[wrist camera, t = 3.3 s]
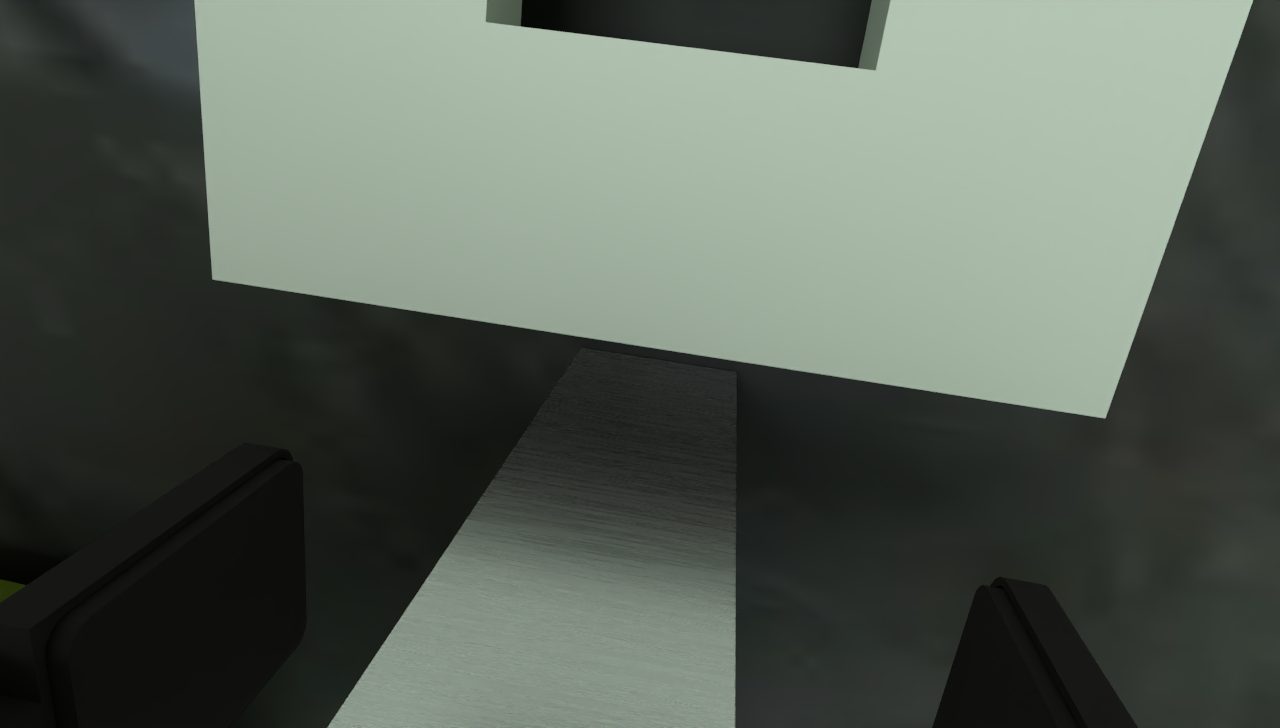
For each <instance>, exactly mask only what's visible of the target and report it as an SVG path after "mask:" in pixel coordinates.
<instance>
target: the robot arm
mask: <svg viewBox="0 0 1280 728" xmlns="http://www.w3.org/2000/svg"><path fill="white" fill-rule="evenodd" d="M305 626H306V581H305V544H304V507H303V473H302V468H301V466H300V464H299V463H297V462H293V458H292V456H291V454H290V452H288V451H287V450H284V449H279V448H273V447H268V446H262V445H256V444H250V443H245V444H242V445H240V446H238V447H237V448H235V449H234V450H232V451H231V452H229V453H228V454H226V455H225V456H223V457H222V458H220V459H218V460H217V461H215V462H214V463H212V464H211V465H209V466H208V467H206V468H205V469H203V470H202V471H200V472H199V473H197V474H196V475H194V476H193V477H191V478H189V479H188V480H186V481H185V482H183V483H182V484H180V485H179V486H177V487H176V488H174V489H173V490H171V491H170V492H168V493H167V494H165V495H164V496H162V497H160V498H159V499H157V500H156V501H154V502H153V503H151V504H150V505H148V506H147V507H145V508H144V509H142V510H141V511H139V512H138V513H136V514H135V515H133V516H131V517H130V518H128V519H127V520H125V521H124V522H122V523H121V524H119V525H118V526H116V527H115V528H113V529H112V530H110V531H109V532H107V533H106V534H104V535H102V536H101V537H99V538H98V539H96V540H95V541H93V542H92V543H90V544H89V545H87V546H86V547H84V548H83V549H81V550H80V551H78V552H77V553H75V554H73V555H72V556H70V557H69V558H67V559H66V560H64V561H63V562H61V563H60V564H58V565H57V566H55V567H54V568H52V569H51V570H49V571H48V572H46V573H44V574H43V575H41V576H40V577H38V578H37V579H35V580H34V581H32V582H31V583H29V584H28V585H26V586H25V587H23V588H22V589H20V590H19V591H17V592H15V593H14V594H12V595H11V596H9V597H8V598H6V599H5V600H3V601H2V602H0V728H229V727H230V726H231V724H232V723H233V722H234V721H235V720H236V718H237V717H238V716H239V715H240V714H241V712H242V711H243V710H244V709H245V708H246V707H247V705H248V704H249V703H250V702H251V701H252V699H253V698H254V697H255V696H256V695H257V694H258V692H259V691H260V690H261V689H262V688H263V686H264V685H265V684H266V683H267V682H268V680H269V679H270V678H271V677H272V676H273V675H274V673H275V672H276V671H277V670H278V669H279V667H280V666H281V665H282V664H283V663H284V662H285V660H286V659H287V658H288V657H289V656H290V654H291V653H292V652H293V651H294V650H295V648H296V647H297V646H298V644H299V643H300V641H301V639H302V636H303V634H304V631H305ZM932 728H1138V727H1137V725H1136V724H1135V722H1134V721H1133V719H1132V718H1131V716H1130V714H1129V713H1128V711H1127V710H1126V708H1125V707H1124V705H1123V703H1122V702H1121V700H1120V699H1119V697H1118V696H1117V694H1116V692H1115V691H1114V689H1113V688H1112V686H1111V685H1110V683H1109V681H1108V680H1107V678H1106V677H1105V675H1104V674H1103V672H1102V670H1101V669H1100V667H1099V666H1098V664H1097V663H1096V661H1095V659H1094V658H1093V656H1092V655H1091V653H1090V652H1089V650H1088V648H1087V647H1086V645H1085V644H1084V642H1083V641H1082V639H1081V637H1080V636H1079V634H1078V633H1077V631H1076V630H1075V628H1074V626H1073V625H1072V623H1071V622H1070V620H1069V619H1068V617H1067V615H1066V614H1065V612H1064V611H1063V609H1062V608H1061V606H1060V604H1059V603H1058V601H1057V600H1056V598H1055V597H1054V595H1053V594H1052V592H1051V590H1050V589H1049V588H1048V587H1047V586H1045V585H1042V584H1036V583H1031V582H1025V581H1019V580H1014V579H1008V578H1003V577H998V578H996V579H995V580H994V581H993V583H992V584H991V586H984V585H982V586H980V587H979V588H978V589H977V591H976V593H975V596H974V599H973V602H972V605H971V608H970V611H969V615H968V618H967V621H966V624H965V627H964V630H963V633H962V636H961V640H960V643H959V646H958V649H957V652H956V655H955V658H954V662H953V665H952V668H951V671H950V674H949V677H948V680H947V684H946V687H945V690H944V693H943V696H942V699H941V702H940V705H939V709H938V712H937V715H936V718H935V721H934V724H933V727H932Z"/></svg>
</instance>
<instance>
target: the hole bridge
mask: <svg viewBox="0 0 1280 728" xmlns="http://www.w3.org/2000/svg"><path fill="white" fill-rule="evenodd" d="M194 1H195V17H196V32H197V48H198V64H199V79H200V95H201V110H202V126H203V141H204V157H205V172H206V188H207V204H208V219H209V235H210V250H211V266H212V279H213V280H219V281H226V282H232V283H239V284H245V285H251V286H258V287H264V288H271V289H277V290H284V291H290V292H296V293H303V294H309V295H316V296H322V297H329V298H335V299H341V300H348V301H354V302H361V303H367V304H373V305H380V306H386V307H393V308H399V309H406V310H412V311H418V312H425V313H431V314H438V315H444V316H451V317H457V318H463V319H470V320H476V321H483V322H489V323H496V324H502V325H508V326H515V327H521V328H528V329H534V330H540V331H547V332H553V333H560V334H566V335H573V336H579V337H585V338H592V339H598V340H605V341H611V342H618V343H624V344H630V345H637V346H643V347H650V348H656V349H663V350H669V351H675V352H682V353H688V354H695V355H701V356H707V357H714V358H720V359H727V360H733V361H740V362H746V363H752V364H759V365H765V366H772V367H778V368H785V369H791V370H797V371H804V372H810V373H817V374H823V375H830V376H836V377H842V378H849V379H855V380H862V381H868V382H874V383H881V384H887V385H894V386H900V387H907V388H913V389H919V390H926V391H932V392H939V393H945V394H952V395H958V396H964V397H971V398H977V399H984V400H990V401H997V402H1003V403H1009V404H1016V405H1022V406H1029V407H1035V408H1041V409H1048V410H1054V411H1061V412H1067V413H1074V414H1080V415H1086V416H1093V417H1099V418H1106V415H1107V412H1108V409H1109V407H1110V404H1111V401H1112V398H1113V395H1114V393H1115V390H1116V387H1117V384H1118V381H1119V378H1120V376H1121V373H1122V370H1123V367H1124V364H1125V361H1126V359H1127V356H1128V353H1129V350H1130V347H1131V344H1132V342H1133V339H1134V336H1135V333H1136V330H1137V327H1138V325H1139V322H1140V319H1141V316H1142V313H1143V310H1144V308H1145V305H1146V302H1147V299H1148V296H1149V294H1150V291H1151V288H1152V285H1153V282H1154V279H1155V277H1156V274H1157V271H1158V268H1159V265H1160V262H1161V260H1162V257H1163V254H1164V251H1165V248H1166V245H1167V243H1168V240H1169V237H1170V234H1171V231H1172V228H1173V226H1174V223H1175V220H1176V217H1177V214H1178V211H1179V209H1180V206H1181V203H1182V200H1183V197H1184V195H1185V192H1186V189H1187V186H1188V183H1189V180H1190V178H1191V175H1192V172H1193V169H1194V166H1195V163H1196V161H1197V158H1198V155H1199V152H1200V149H1201V146H1202V144H1203V141H1204V138H1205V135H1206V132H1207V129H1208V127H1209V124H1210V121H1211V118H1212V115H1213V113H1214V110H1215V107H1216V104H1217V101H1218V98H1219V96H1220V93H1221V90H1222V87H1223V84H1224V81H1225V79H1226V76H1227V73H1228V70H1229V67H1230V64H1231V62H1232V59H1233V56H1234V53H1235V50H1236V47H1237V45H1238V42H1239V39H1240V36H1241V33H1242V30H1243V28H1244V25H1245V22H1246V19H1247V16H1248V14H1249V11H1250V8H1251V5H1252V2H1253V0H872V3H871V8H870V13H869V18H868V22H867V27H866V32H865V37H864V42H863V47H862V52H861V57H860V62H859V67H858V68H851V67H842V66H834V65H826V64H818V63H810V62H802V61H794V60H786V59H778V58H770V57H762V56H754V55H746V54H738V53H730V52H722V51H714V50H706V49H698V48H690V47H681V46H673V45H665V44H657V43H649V42H641V41H633V40H625V39H617V38H609V37H601V36H593V35H585V34H577V33H569V32H561V31H553V30H545V29H537V28H528V27H521V11H522V0H194Z"/></svg>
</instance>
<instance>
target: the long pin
mask: <svg viewBox="0 0 1280 728" xmlns="http://www.w3.org/2000/svg"><path fill="white" fill-rule="evenodd" d="M736 410H737V372H735V371H728V370H722V369H716V368H709V367H703V366H697V365H690V364H684V363H677V362H671V361H665V360H658V359H652V358H645V357H639V356H633V355H626V354H620V353H613V352H607V351H601V350H594V349H588V348H580V350H579V351H578V353H577V354H576V356H575V357H574V359H573V360H572V362H571V363H570V365H569V366H568V368H567V369H566V371H565V372H564V374H563V375H562V377H561V378H560V380H559V381H558V383H557V384H556V386H555V387H554V389H553V390H552V392H551V393H550V395H549V396H548V398H547V399H546V401H545V402H544V404H543V405H542V407H541V408H540V410H539V411H538V413H537V414H536V416H535V417H534V419H533V420H532V422H531V423H530V425H529V426H528V428H527V429H526V431H525V432H524V434H523V435H522V437H521V438H520V440H519V441H518V443H517V444H516V446H515V447H514V449H513V450H512V452H511V453H510V455H509V456H508V458H507V459H506V461H505V462H504V464H503V465H502V467H501V468H500V470H499V471H498V473H497V474H496V476H495V477H494V479H493V480H492V482H491V483H490V485H489V486H488V488H487V489H486V491H485V492H484V494H483V495H482V497H481V498H480V500H479V501H478V503H477V504H476V506H475V507H474V509H473V510H472V512H471V513H470V515H469V516H468V518H467V519H466V521H465V522H464V524H463V525H462V527H461V528H460V530H459V531H458V533H457V534H456V536H455V537H454V539H453V540H452V542H451V543H450V545H449V546H448V548H447V549H446V551H445V552H444V554H443V555H442V557H441V558H440V560H439V561H438V563H437V564H436V566H435V567H434V569H433V570H432V572H431V573H430V575H429V576H428V578H427V579H426V581H425V582H424V584H423V585H422V587H421V588H420V590H419V591H418V593H417V594H416V596H415V597H414V599H413V600H412V602H411V603H410V605H409V606H408V608H407V609H406V611H405V612H404V614H403V615H402V617H401V618H400V620H399V621H398V623H397V624H396V626H395V627H394V629H393V630H392V632H391V633H390V635H389V636H388V638H387V639H386V641H385V642H384V644H383V645H382V647H381V648H380V650H379V651H378V653H377V654H376V656H375V657H374V659H373V660H372V662H371V663H370V665H369V666H368V668H367V669H366V670H365V672H364V673H363V675H362V676H361V678H360V679H359V681H358V682H357V684H356V685H355V687H354V688H353V690H352V691H351V693H350V694H349V696H348V697H347V699H346V700H345V702H344V703H343V705H342V706H341V708H340V709H339V711H338V712H337V714H336V715H335V717H334V718H333V720H332V721H331V723H330V724H329V726H328V727H327V728H735V618H736Z"/></svg>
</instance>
